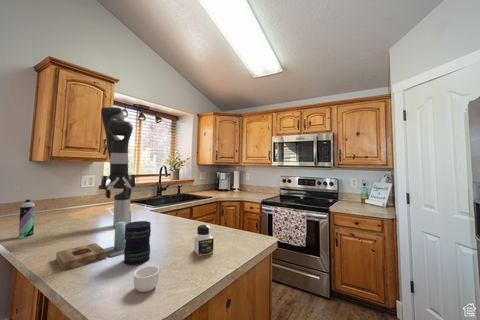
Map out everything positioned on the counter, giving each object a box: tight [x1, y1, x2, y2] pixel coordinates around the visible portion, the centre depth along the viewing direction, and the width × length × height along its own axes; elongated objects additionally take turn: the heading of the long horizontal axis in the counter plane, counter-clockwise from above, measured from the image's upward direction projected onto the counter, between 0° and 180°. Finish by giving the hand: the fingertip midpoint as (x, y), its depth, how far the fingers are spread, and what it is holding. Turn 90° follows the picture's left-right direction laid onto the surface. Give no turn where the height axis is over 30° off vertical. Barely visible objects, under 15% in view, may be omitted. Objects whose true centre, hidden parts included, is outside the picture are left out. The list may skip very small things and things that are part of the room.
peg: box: [113, 222, 126, 251], centre depth 98 cm, size 4×4×12 cm
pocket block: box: [55, 242, 107, 272], centre depth 88 cm, size 14×14×3 cm
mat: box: [103, 245, 124, 258], centre depth 97 cm, size 11×11×1 cm
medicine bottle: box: [193, 224, 214, 257], centre depth 97 cm, size 7×7×12 cm
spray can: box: [18, 199, 36, 240], centre depth 113 cm, size 6×6×20 cm
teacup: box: [133, 265, 161, 293], centre depth 69 cm, size 10×8×5 cm
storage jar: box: [123, 220, 152, 266], centre depth 88 cm, size 10×10×15 cm
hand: (118, 197), depth 99 cm, fingers open, 8 cm apart
